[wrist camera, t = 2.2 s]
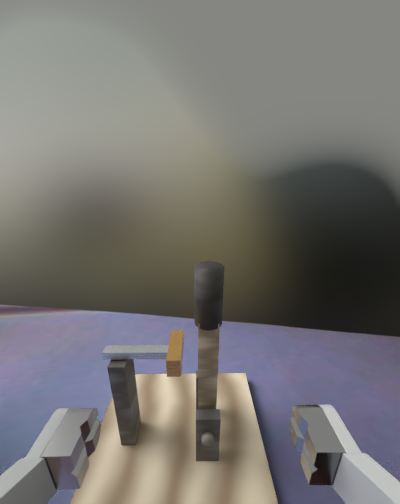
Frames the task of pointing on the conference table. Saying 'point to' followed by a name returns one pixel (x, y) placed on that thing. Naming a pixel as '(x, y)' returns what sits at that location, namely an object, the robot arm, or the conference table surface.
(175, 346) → the pin
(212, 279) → the lever
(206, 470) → the frame
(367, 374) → the conference table surface
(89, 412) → the robot arm
